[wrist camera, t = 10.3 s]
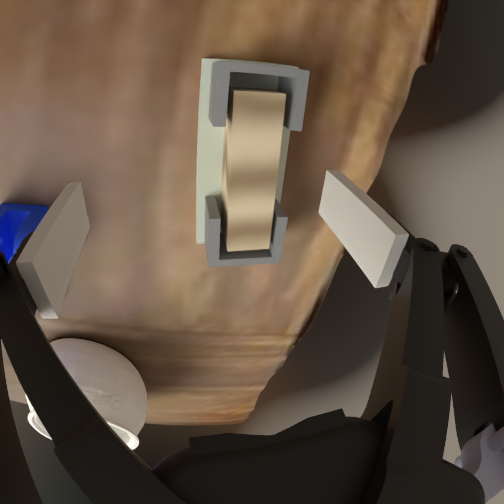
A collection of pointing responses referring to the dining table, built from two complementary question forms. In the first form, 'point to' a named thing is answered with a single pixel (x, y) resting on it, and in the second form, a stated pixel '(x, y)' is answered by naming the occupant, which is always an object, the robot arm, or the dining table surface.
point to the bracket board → (211, 150)
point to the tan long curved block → (250, 166)
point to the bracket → (17, 225)
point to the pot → (103, 386)
